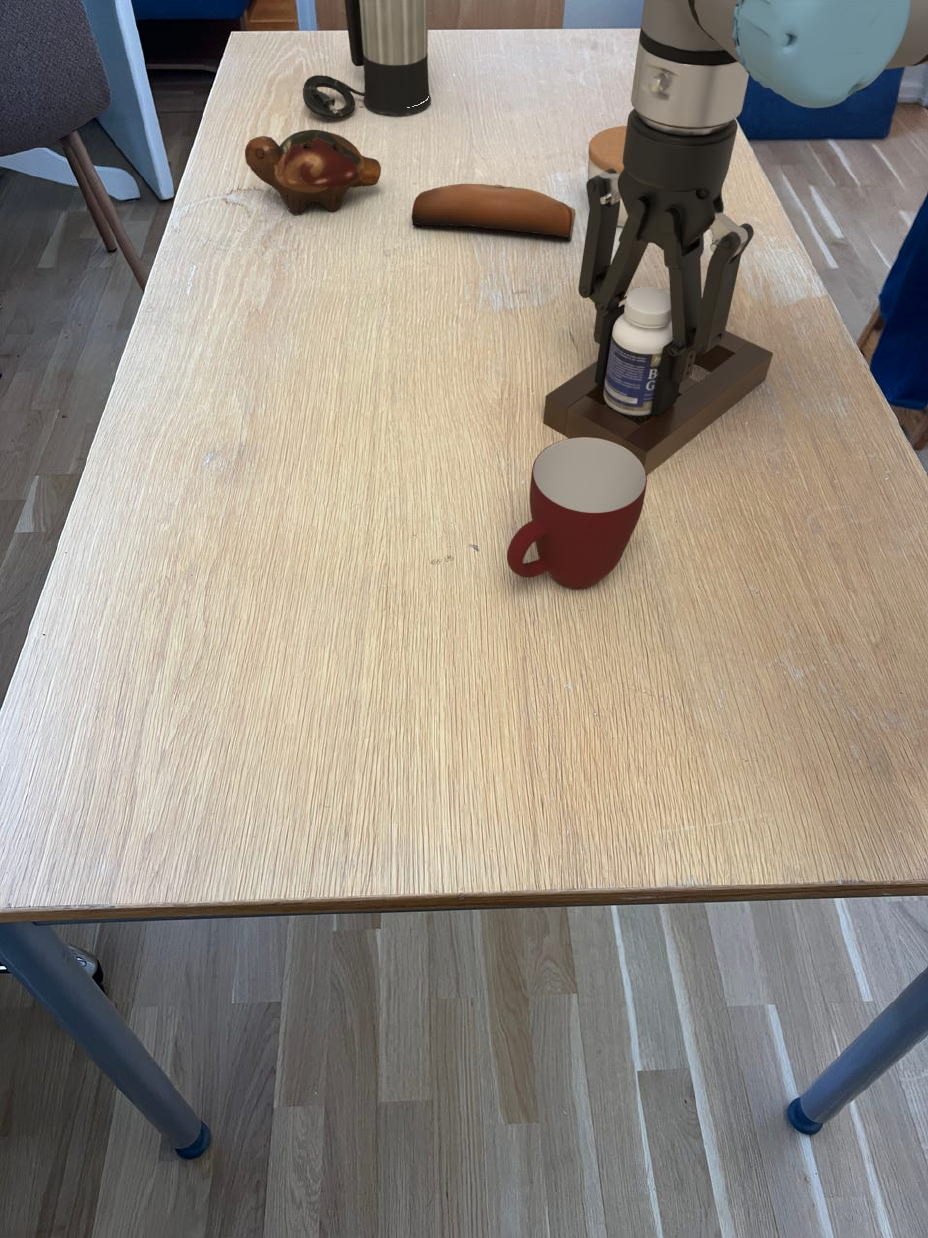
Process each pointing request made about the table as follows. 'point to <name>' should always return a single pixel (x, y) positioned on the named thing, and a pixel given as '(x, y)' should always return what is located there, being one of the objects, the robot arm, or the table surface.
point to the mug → (580, 511)
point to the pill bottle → (638, 351)
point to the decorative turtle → (311, 167)
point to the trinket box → (608, 158)
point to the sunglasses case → (494, 209)
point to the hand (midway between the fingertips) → (634, 391)
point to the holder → (661, 436)
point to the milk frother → (381, 60)
